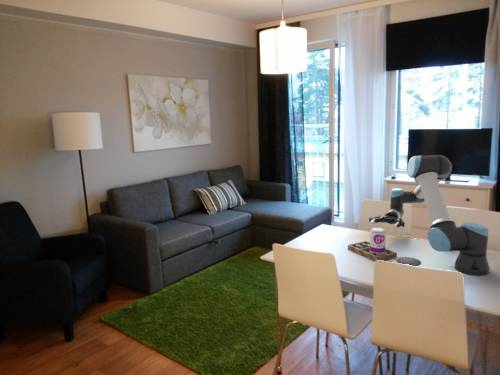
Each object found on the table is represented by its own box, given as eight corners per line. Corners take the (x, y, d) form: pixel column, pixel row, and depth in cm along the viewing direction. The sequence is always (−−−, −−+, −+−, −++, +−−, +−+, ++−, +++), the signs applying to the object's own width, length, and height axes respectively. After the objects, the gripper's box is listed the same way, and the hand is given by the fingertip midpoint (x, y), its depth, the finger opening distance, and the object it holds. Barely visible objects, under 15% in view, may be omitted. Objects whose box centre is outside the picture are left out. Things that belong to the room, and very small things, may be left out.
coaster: (426, 263, 206) (426, 262, 206) (409, 267, 201) (409, 266, 200) (407, 256, 216) (407, 255, 216) (391, 260, 211) (391, 259, 211)
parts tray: (396, 257, 216) (397, 252, 215) (377, 261, 209) (377, 257, 209) (366, 244, 237) (366, 240, 236) (347, 248, 231) (347, 244, 230)
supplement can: (386, 258, 214) (386, 231, 212) (370, 257, 216) (371, 231, 213) (384, 253, 222) (384, 227, 219) (368, 252, 224) (369, 227, 221)
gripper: (413, 225, 236) (405, 235, 219) (371, 220, 250) (361, 228, 232) (414, 213, 235) (405, 222, 217) (372, 208, 248) (361, 216, 231)
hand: (382, 225), depth 225 cm, fingers open, 13 cm apart
